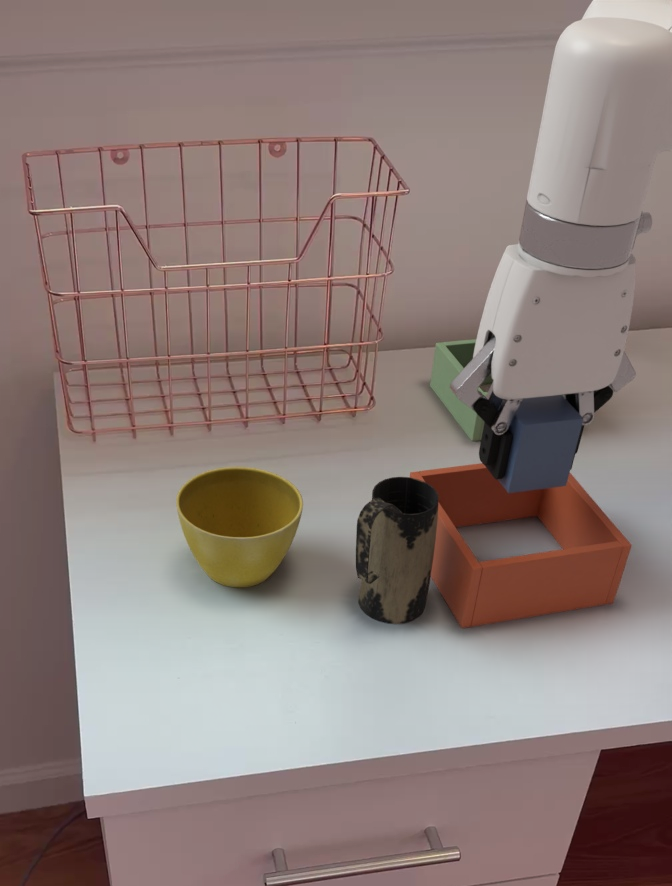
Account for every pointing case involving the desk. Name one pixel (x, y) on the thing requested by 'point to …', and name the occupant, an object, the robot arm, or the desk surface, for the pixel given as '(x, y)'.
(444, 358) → the bulb bin
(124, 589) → the desk surface
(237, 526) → the yellow bowl
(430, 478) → the block bin
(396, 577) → the mug
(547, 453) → the block
